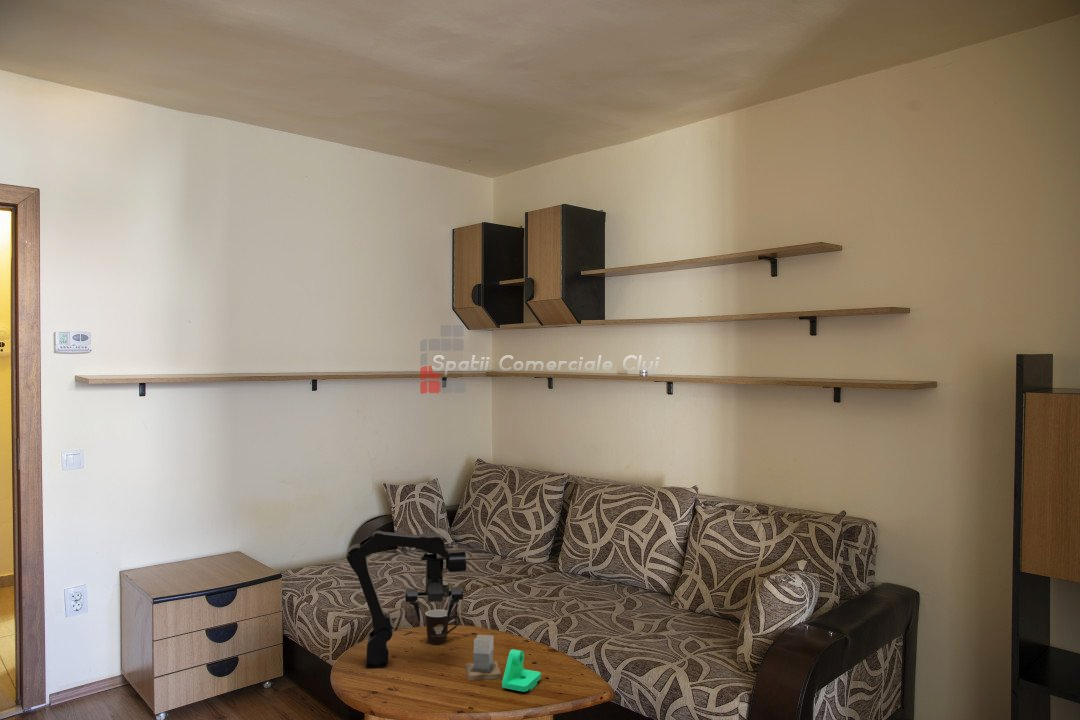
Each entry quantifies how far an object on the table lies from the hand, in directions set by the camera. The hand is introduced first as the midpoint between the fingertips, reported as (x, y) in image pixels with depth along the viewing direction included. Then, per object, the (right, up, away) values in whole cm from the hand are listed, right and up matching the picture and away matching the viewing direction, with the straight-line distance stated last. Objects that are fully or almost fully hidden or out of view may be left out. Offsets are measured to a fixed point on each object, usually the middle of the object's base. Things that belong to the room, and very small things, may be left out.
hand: (433, 620), depth 240 cm
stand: (+17, -13, -10) cm, 24 cm away
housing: (+17, -12, -10) cm, 23 cm away
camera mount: (+30, -13, -19) cm, 38 cm away
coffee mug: (0, -14, +17) cm, 22 cm away
